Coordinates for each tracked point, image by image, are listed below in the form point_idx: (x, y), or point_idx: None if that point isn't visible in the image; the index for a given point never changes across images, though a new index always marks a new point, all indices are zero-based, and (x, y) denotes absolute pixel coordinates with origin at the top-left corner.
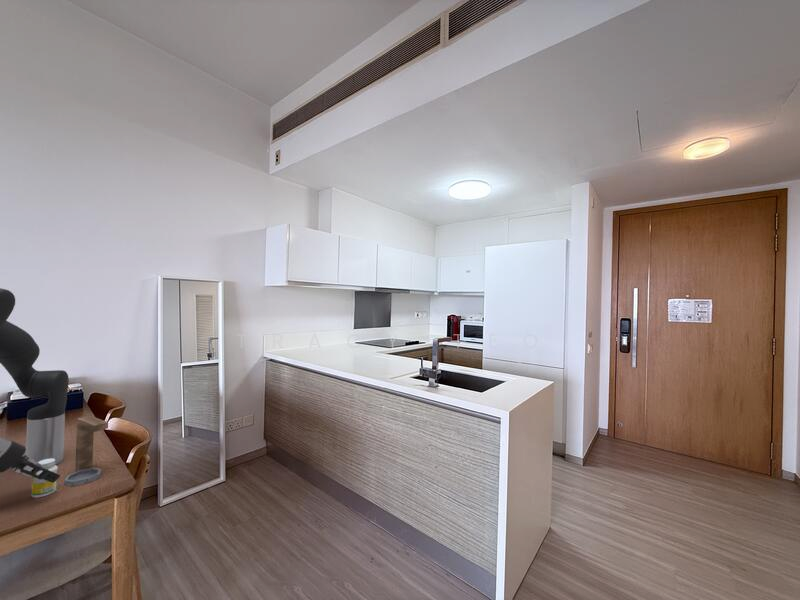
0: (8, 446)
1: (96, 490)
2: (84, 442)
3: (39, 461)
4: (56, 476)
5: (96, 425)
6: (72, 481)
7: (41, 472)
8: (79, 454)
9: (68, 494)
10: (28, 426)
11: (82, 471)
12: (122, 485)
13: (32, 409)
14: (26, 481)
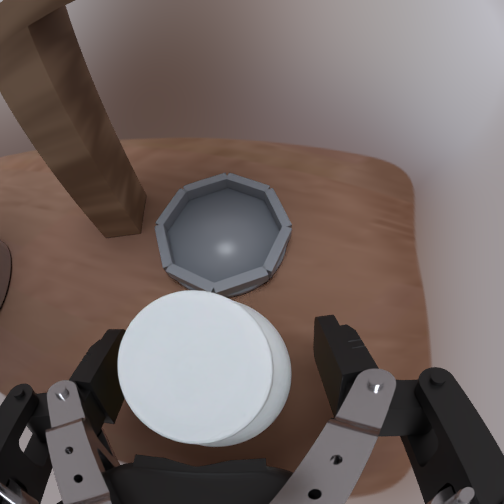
0: None
1: (389, 235)
2: (81, 114)
3: (136, 402)
4: (355, 334)
5: None
6: (265, 273)
7: (384, 421)
8: (99, 177)
9: (347, 311)
10: None
11: (169, 220)
12: (404, 179)
13: None
14: (45, 371)
